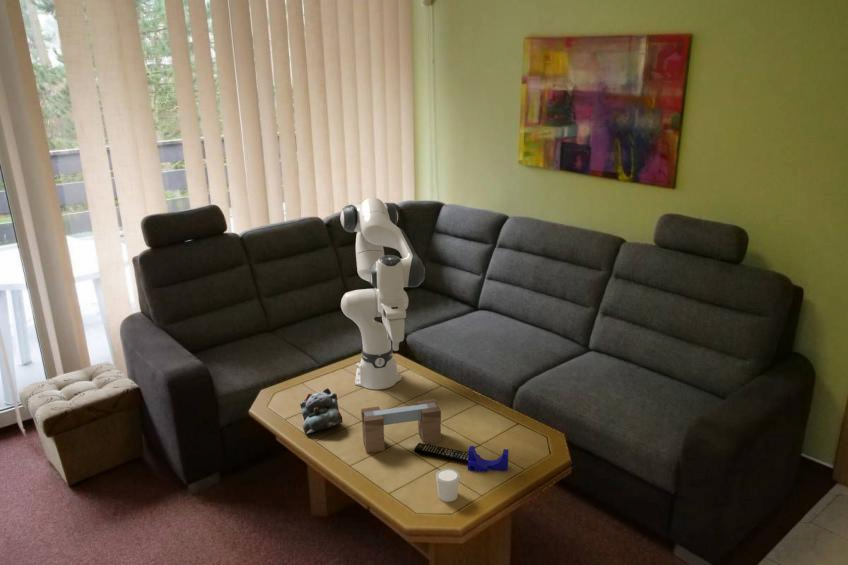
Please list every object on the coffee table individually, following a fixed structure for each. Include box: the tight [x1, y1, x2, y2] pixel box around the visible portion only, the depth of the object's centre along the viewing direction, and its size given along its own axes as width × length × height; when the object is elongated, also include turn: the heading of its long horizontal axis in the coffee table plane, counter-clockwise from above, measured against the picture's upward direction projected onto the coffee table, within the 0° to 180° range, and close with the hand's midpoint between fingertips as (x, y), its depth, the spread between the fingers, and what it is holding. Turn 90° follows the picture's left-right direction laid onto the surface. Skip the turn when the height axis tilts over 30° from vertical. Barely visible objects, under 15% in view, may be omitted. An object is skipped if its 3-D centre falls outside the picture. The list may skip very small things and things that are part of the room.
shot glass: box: [435, 468, 460, 503], centre depth 188 cm, size 7×7×7 cm
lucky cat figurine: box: [299, 388, 344, 435], centre depth 226 cm, size 15×12×14 cm
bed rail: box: [364, 403, 438, 426], centre depth 214 cm, size 3×24×4 cm, turn 104°
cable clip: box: [467, 445, 509, 473], centre depth 201 cm, size 12×4×6 cm, turn 78°
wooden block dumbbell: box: [360, 398, 442, 454], centre depth 215 cm, size 8×25×12 cm, turn 103°
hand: (392, 344), depth 217 cm, fingers open, 8 cm apart
